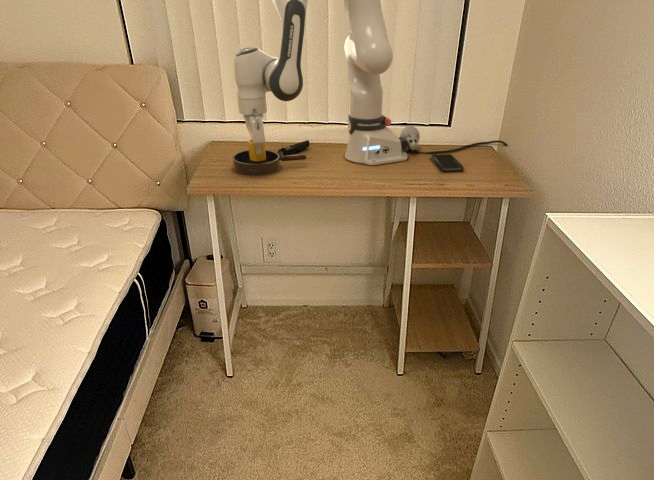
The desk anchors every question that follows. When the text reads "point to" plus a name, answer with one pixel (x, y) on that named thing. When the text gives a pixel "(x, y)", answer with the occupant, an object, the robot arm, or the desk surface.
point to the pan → (256, 164)
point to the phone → (447, 163)
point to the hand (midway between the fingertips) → (257, 150)
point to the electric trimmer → (293, 148)
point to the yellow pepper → (253, 154)
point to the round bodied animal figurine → (410, 137)
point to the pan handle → (293, 157)
